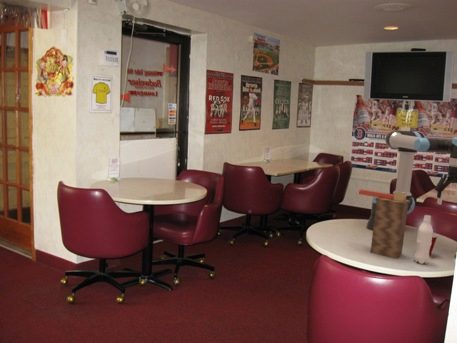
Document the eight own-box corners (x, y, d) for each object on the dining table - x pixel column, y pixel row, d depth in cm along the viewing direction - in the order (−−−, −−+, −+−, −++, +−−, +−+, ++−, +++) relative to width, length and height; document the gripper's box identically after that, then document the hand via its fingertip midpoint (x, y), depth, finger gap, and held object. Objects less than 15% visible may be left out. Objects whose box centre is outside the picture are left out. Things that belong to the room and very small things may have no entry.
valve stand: (369, 252, 248) (375, 198, 244) (375, 247, 257) (381, 195, 253) (397, 259, 240) (404, 203, 235) (402, 254, 249) (409, 200, 244)
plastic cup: (431, 252, 256) (434, 231, 254) (438, 259, 245) (441, 237, 243) (411, 250, 257) (414, 229, 255) (417, 256, 246) (420, 235, 244)
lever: (358, 194, 252) (359, 187, 251) (361, 193, 256) (362, 186, 255) (403, 202, 239) (404, 194, 238) (405, 200, 243) (406, 193, 242)
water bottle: (419, 264, 233) (425, 217, 229) (410, 260, 240) (417, 213, 236) (431, 264, 235) (438, 217, 231) (423, 260, 242) (429, 214, 238)
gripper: (439, 166, 241) (433, 205, 245) (481, 168, 246) (475, 206, 249) (431, 163, 249) (425, 201, 252) (472, 166, 253) (466, 203, 256)
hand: (450, 204), depth 251 cm, fingers open, 13 cm apart
